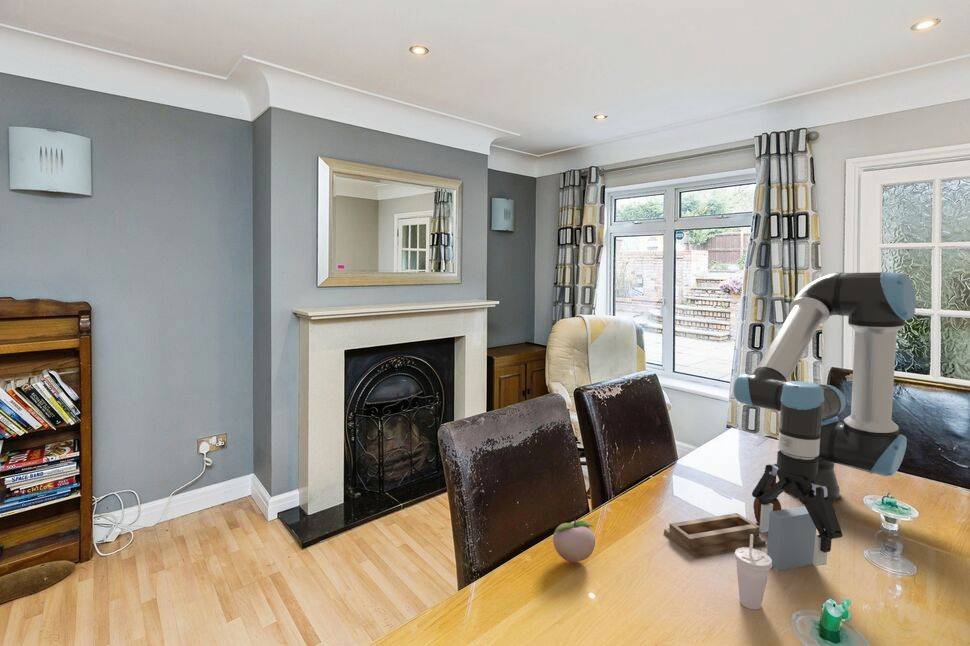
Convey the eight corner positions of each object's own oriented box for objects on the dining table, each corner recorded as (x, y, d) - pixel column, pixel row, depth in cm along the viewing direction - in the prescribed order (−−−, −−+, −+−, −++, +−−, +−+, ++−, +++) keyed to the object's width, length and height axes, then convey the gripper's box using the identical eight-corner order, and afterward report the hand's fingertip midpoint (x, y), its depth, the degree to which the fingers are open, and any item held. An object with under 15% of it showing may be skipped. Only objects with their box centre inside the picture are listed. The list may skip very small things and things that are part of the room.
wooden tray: (730, 522, 126) (731, 509, 125) (765, 544, 115) (766, 531, 115) (664, 532, 120) (664, 519, 120) (694, 557, 110) (695, 543, 109)
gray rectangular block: (801, 556, 111) (805, 505, 109) (813, 563, 108) (817, 512, 107) (766, 563, 108) (769, 511, 107) (777, 571, 105) (781, 518, 104)
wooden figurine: (784, 532, 121) (788, 474, 119) (758, 530, 122) (762, 472, 120) (773, 519, 127) (777, 464, 126) (749, 517, 129) (753, 462, 127)
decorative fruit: (569, 579, 102) (570, 533, 101) (546, 558, 109) (547, 516, 108) (603, 566, 106) (605, 523, 105) (580, 548, 113) (581, 507, 112)
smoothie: (725, 593, 98) (728, 526, 96) (755, 591, 98) (759, 525, 97) (744, 615, 91) (749, 544, 90) (777, 613, 92) (781, 543, 90)
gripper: (739, 436, 116) (733, 521, 118) (840, 478, 92) (832, 583, 94) (764, 434, 118) (758, 517, 120) (870, 474, 94) (860, 577, 96)
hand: (790, 546), depth 107 cm, fingers open, 13 cm apart
